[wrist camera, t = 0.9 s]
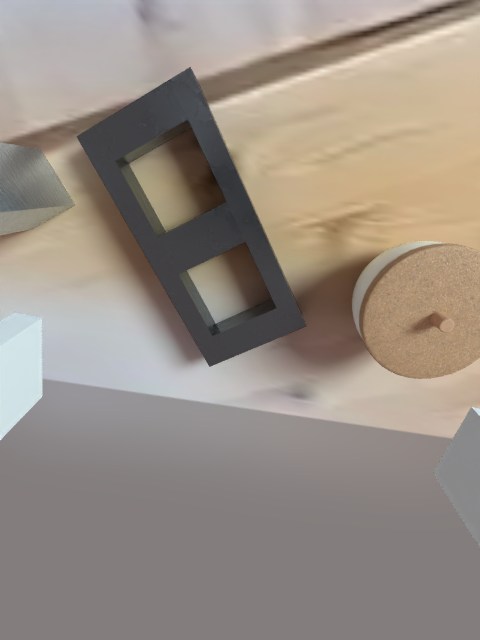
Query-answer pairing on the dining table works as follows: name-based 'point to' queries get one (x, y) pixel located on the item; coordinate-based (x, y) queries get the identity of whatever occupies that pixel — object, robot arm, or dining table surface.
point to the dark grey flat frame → (199, 233)
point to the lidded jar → (420, 308)
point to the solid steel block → (28, 189)
